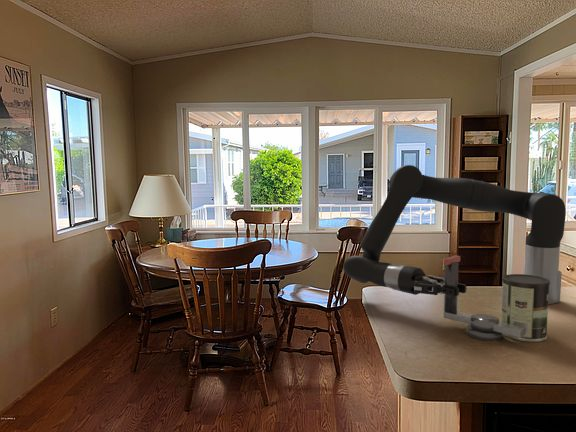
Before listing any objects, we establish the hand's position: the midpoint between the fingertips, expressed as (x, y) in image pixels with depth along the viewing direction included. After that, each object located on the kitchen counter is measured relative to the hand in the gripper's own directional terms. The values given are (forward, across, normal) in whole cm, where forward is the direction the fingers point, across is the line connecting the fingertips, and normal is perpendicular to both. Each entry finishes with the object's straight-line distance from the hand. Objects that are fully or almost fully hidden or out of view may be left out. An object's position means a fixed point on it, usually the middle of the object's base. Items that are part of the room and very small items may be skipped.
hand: (461, 290), depth 113 cm
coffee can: (+12, +8, +10) cm, 18 cm away
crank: (+5, 0, +8) cm, 10 cm away
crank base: (+6, 0, +10) cm, 12 cm away
